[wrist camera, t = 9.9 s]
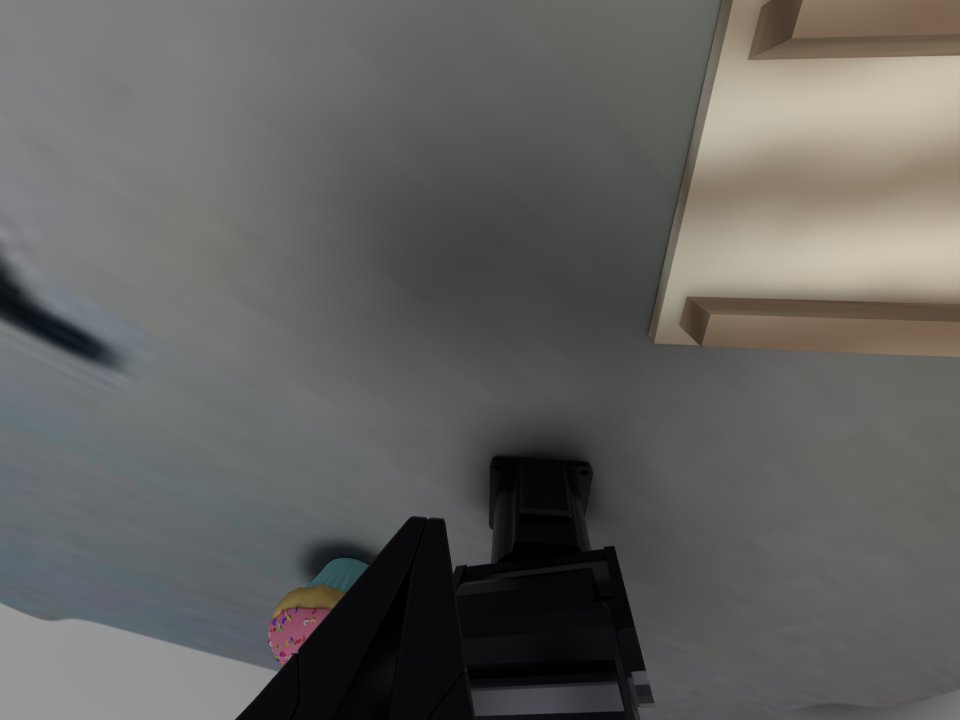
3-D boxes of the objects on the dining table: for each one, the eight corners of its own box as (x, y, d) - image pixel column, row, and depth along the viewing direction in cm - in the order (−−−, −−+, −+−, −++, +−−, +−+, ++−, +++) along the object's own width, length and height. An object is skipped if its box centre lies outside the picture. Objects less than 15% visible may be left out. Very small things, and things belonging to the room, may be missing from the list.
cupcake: (420, 583, 32) (370, 794, 21) (359, 616, 35) (287, 814, 24) (342, 526, 29) (239, 730, 18) (283, 567, 32) (166, 762, 22)
